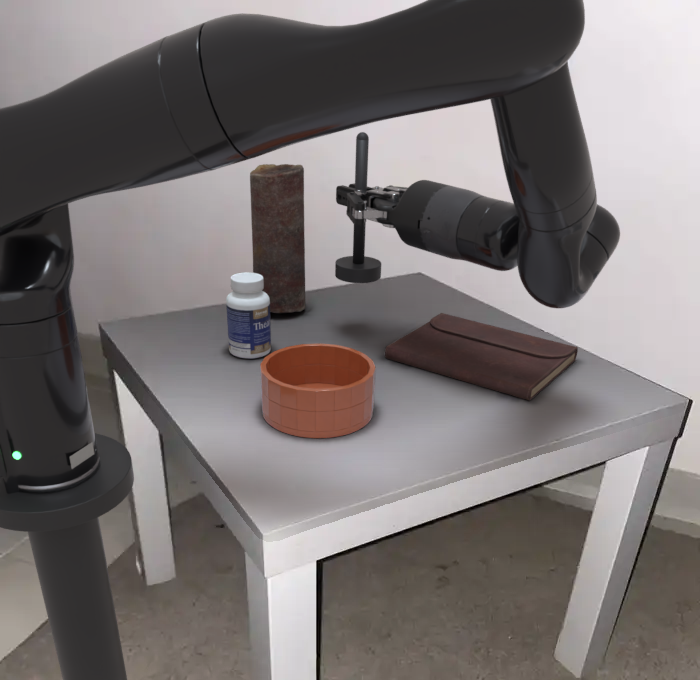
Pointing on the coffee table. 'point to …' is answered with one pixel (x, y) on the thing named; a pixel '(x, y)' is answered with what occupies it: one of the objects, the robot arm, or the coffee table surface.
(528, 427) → the coffee table surface
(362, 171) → the paper towel holder
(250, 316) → the pill bottle
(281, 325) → the coffee table surface
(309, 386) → the bowl
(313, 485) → the coffee table surface
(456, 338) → the notebook
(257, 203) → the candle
